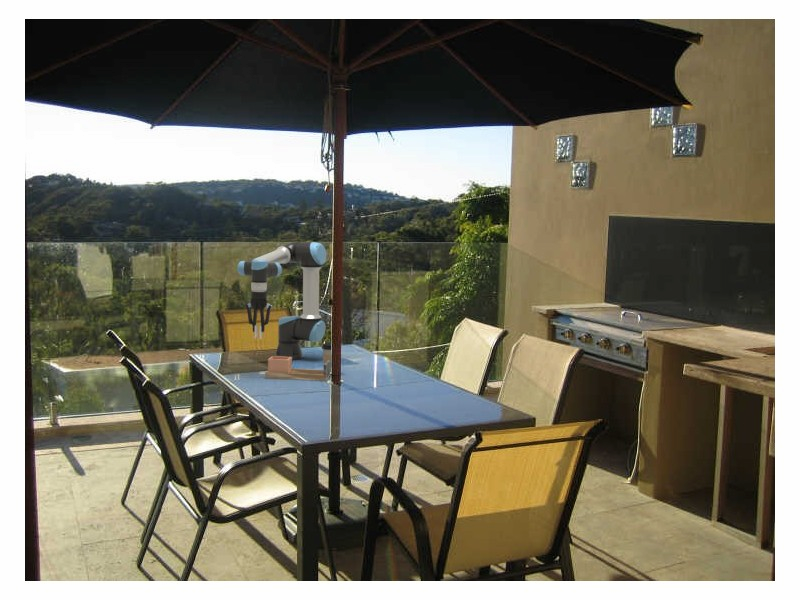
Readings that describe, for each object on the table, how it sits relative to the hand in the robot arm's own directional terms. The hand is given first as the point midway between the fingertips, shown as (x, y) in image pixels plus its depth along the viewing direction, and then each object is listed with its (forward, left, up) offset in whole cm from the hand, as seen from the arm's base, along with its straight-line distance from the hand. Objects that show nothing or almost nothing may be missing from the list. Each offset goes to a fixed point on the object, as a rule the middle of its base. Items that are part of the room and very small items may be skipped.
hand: (258, 338), depth 406 cm
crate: (0, +11, -17) cm, 20 cm away
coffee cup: (-13, +34, -19) cm, 41 cm away
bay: (0, +20, -18) cm, 27 cm away
